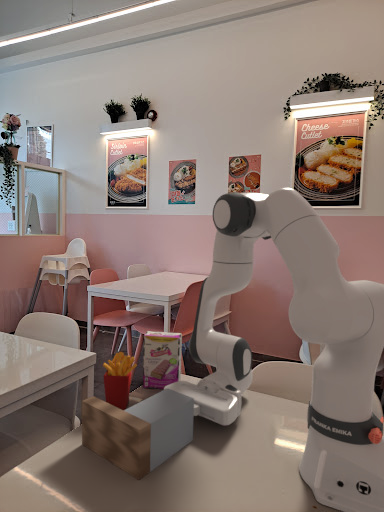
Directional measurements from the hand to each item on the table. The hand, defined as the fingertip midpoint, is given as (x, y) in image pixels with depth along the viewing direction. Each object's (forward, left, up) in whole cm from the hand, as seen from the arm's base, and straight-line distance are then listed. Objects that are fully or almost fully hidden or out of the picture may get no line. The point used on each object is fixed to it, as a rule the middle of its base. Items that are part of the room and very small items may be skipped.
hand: (179, 413), depth 85 cm
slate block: (0, +7, -5) cm, 9 cm away
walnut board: (+5, +16, -5) cm, 17 cm away
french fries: (+20, 0, -5) cm, 21 cm away
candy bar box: (+20, -16, -5) cm, 27 cm away
